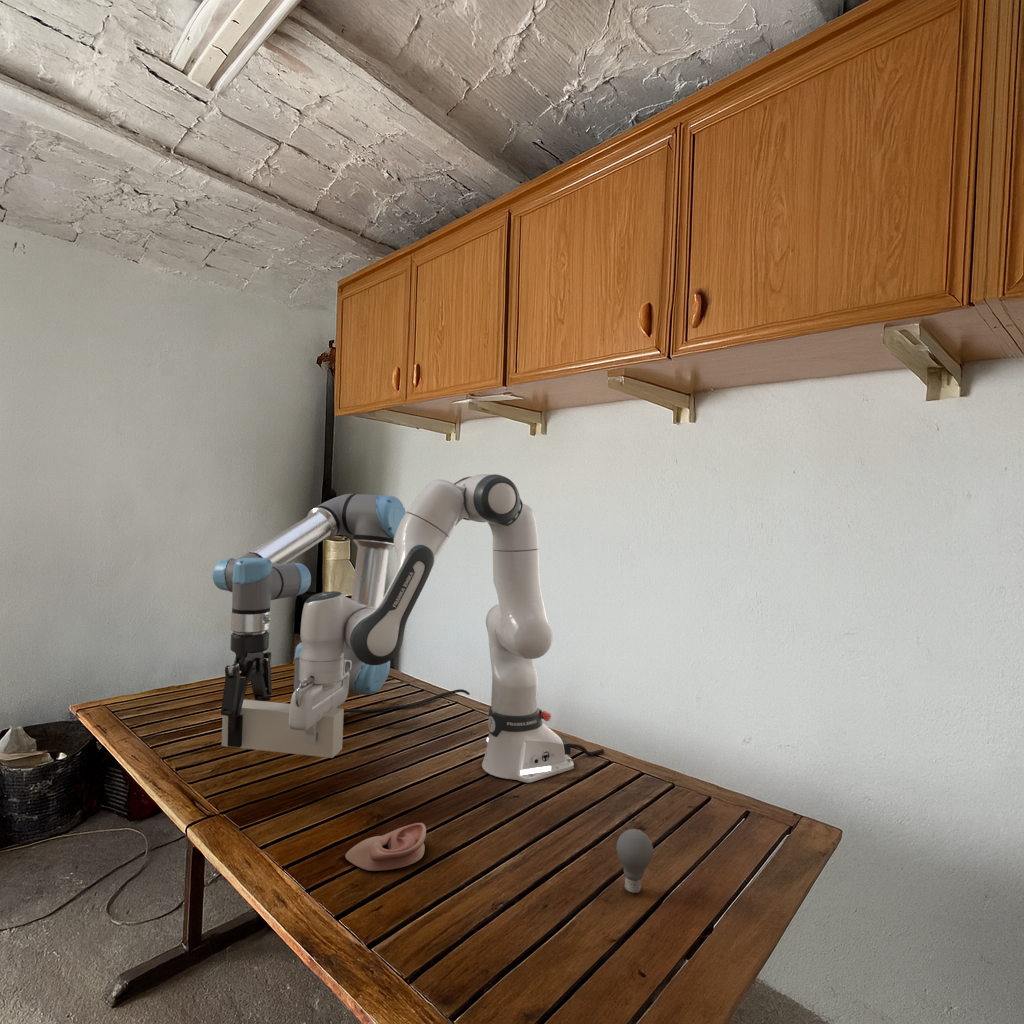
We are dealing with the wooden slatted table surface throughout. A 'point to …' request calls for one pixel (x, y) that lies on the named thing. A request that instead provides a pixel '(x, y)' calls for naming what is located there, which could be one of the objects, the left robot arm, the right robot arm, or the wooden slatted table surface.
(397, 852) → the anatomical model
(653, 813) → the wooden slatted table surface
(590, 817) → the wooden slatted table surface
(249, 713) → the bar
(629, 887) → the light bulb
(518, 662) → the right robot arm
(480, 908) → the wooden slatted table surface
